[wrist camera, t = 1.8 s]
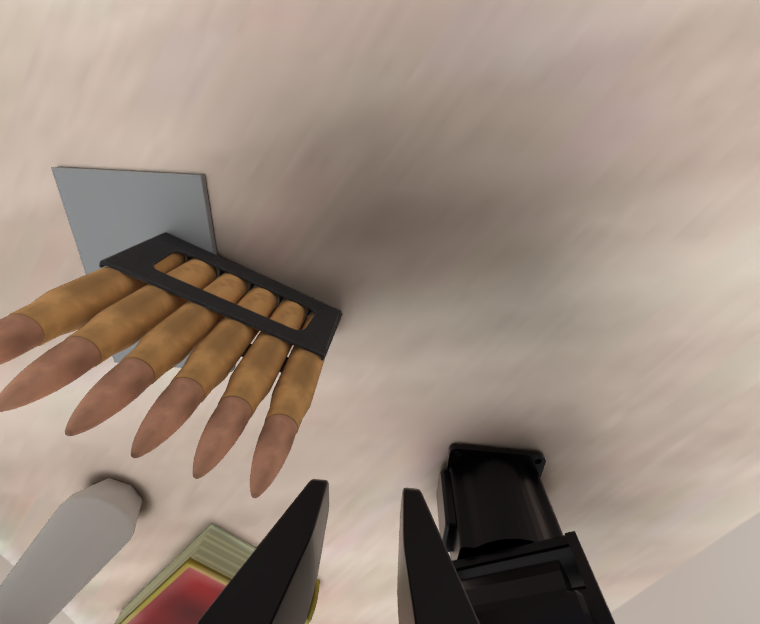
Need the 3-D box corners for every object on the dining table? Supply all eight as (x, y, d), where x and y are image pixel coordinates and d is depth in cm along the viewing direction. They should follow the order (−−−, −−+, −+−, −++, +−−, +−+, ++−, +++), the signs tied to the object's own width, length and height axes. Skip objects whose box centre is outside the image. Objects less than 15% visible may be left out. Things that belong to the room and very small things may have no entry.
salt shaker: (162, 493, 29) (-3, 724, 18) (140, 527, 31) (-20, 752, 20) (94, 460, 28) (-131, 683, 16) (76, 497, 30) (-134, 718, 19)
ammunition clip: (343, 312, 21) (295, 488, 10) (330, 336, 22) (274, 525, 11) (163, 231, 19) (-130, 340, 8) (156, 260, 20) (-123, 396, 9)
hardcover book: (322, 575, 33) (311, 630, 30) (216, 647, 41) (197, 698, 37) (212, 514, 31) (185, 566, 27) (121, 603, 38) (89, 653, 35)
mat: (204, 174, 18) (200, 175, 18) (234, 368, 23) (232, 371, 23) (58, 166, 19) (51, 167, 18) (119, 359, 24) (114, 362, 23)
